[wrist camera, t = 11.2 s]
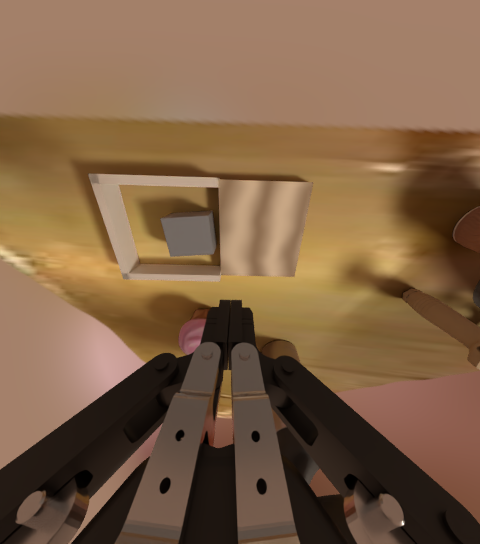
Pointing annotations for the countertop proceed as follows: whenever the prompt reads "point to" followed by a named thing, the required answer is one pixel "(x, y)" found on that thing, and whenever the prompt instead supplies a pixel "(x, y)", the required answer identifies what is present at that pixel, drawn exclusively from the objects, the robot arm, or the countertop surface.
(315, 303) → the countertop surface
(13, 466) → the robot arm
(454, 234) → the coffee cup
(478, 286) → the tankard
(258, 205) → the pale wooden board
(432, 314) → the handle
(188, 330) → the cupcake
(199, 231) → the matte grey cube
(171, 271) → the box
